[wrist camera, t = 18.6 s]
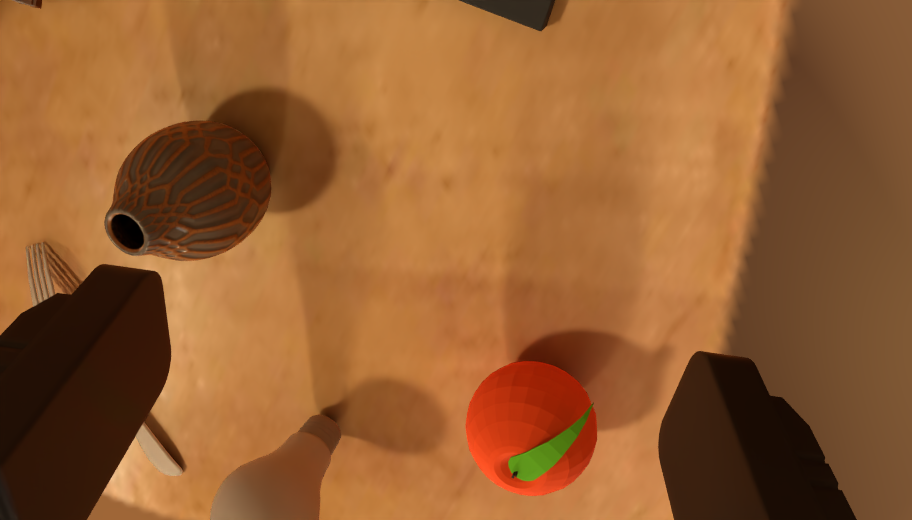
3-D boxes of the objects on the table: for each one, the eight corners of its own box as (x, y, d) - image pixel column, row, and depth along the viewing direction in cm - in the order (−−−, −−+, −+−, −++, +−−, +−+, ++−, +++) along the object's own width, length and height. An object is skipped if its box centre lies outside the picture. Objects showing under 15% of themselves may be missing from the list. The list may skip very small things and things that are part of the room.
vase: (248, 87, 35) (130, 139, 28) (312, 202, 37) (218, 278, 30) (162, 131, 38) (35, 188, 31) (225, 235, 41) (121, 312, 33)
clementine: (560, 304, 36) (532, 387, 30) (646, 393, 37) (636, 490, 31) (462, 372, 40) (420, 456, 34) (541, 449, 41) (514, 545, 35)
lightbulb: (332, 467, 48) (244, 605, 39) (273, 406, 47) (168, 533, 37) (388, 438, 44) (307, 580, 35) (326, 371, 43) (225, 501, 34)
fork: (181, 451, 56) (161, 478, 54) (22, 247, 47) (-11, 269, 45) (206, 450, 55) (186, 477, 53) (48, 240, 46) (16, 263, 44)
